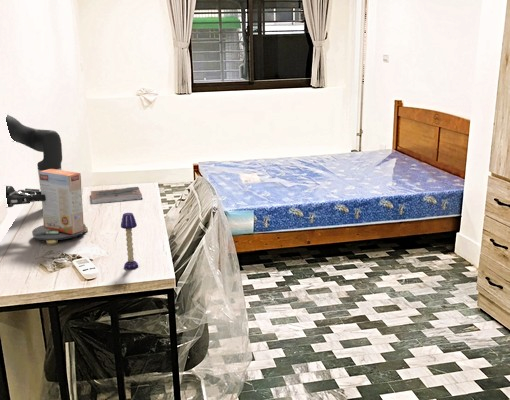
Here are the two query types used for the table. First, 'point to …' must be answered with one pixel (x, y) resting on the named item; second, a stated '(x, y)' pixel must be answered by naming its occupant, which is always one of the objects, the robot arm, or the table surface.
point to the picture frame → (115, 195)
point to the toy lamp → (129, 238)
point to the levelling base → (53, 235)
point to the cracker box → (62, 201)
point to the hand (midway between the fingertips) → (47, 196)
